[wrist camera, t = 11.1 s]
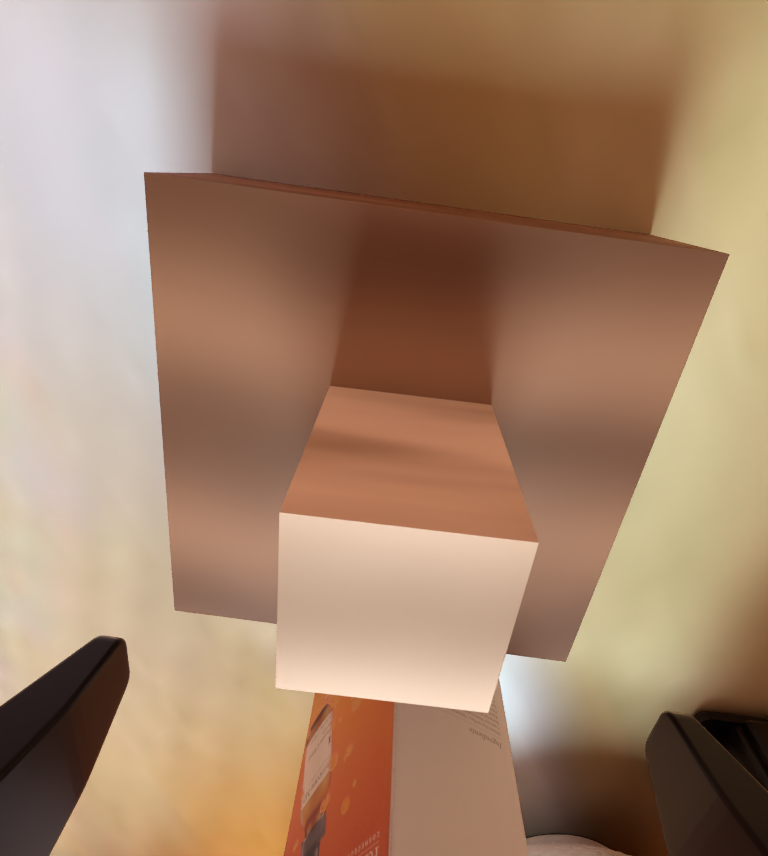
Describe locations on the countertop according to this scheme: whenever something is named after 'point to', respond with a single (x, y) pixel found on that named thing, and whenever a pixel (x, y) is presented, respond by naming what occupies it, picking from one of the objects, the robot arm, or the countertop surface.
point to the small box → (406, 782)
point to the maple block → (401, 553)
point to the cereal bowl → (567, 846)
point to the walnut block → (405, 365)
